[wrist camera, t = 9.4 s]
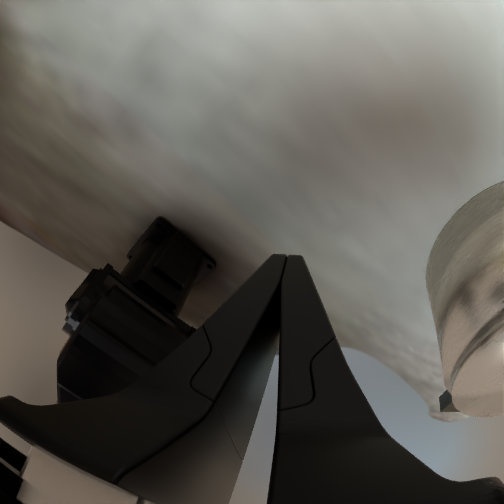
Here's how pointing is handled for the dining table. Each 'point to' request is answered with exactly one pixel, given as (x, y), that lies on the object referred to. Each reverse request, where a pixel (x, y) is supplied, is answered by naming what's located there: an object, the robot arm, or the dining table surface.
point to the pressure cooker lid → (481, 373)
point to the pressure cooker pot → (467, 278)
